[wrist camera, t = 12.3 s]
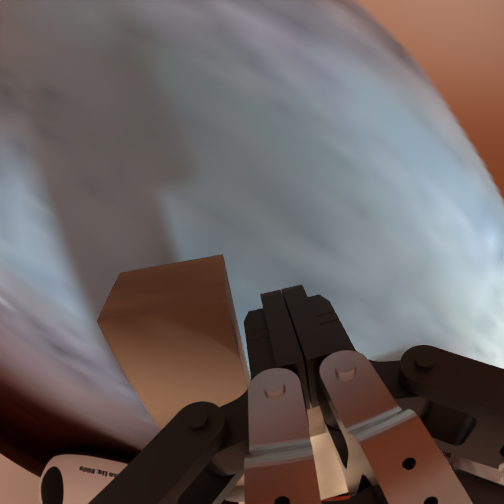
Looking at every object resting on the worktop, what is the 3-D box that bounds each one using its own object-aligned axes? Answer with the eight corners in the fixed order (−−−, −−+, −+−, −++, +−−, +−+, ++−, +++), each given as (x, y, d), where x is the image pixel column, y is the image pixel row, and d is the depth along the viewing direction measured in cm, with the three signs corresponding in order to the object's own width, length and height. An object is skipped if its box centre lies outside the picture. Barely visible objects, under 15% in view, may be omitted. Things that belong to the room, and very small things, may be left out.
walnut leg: (270, 458, 18) (277, 497, 15) (214, 465, 18) (217, 504, 15) (222, 254, 11) (226, 307, 8) (120, 272, 11) (94, 327, 8)
